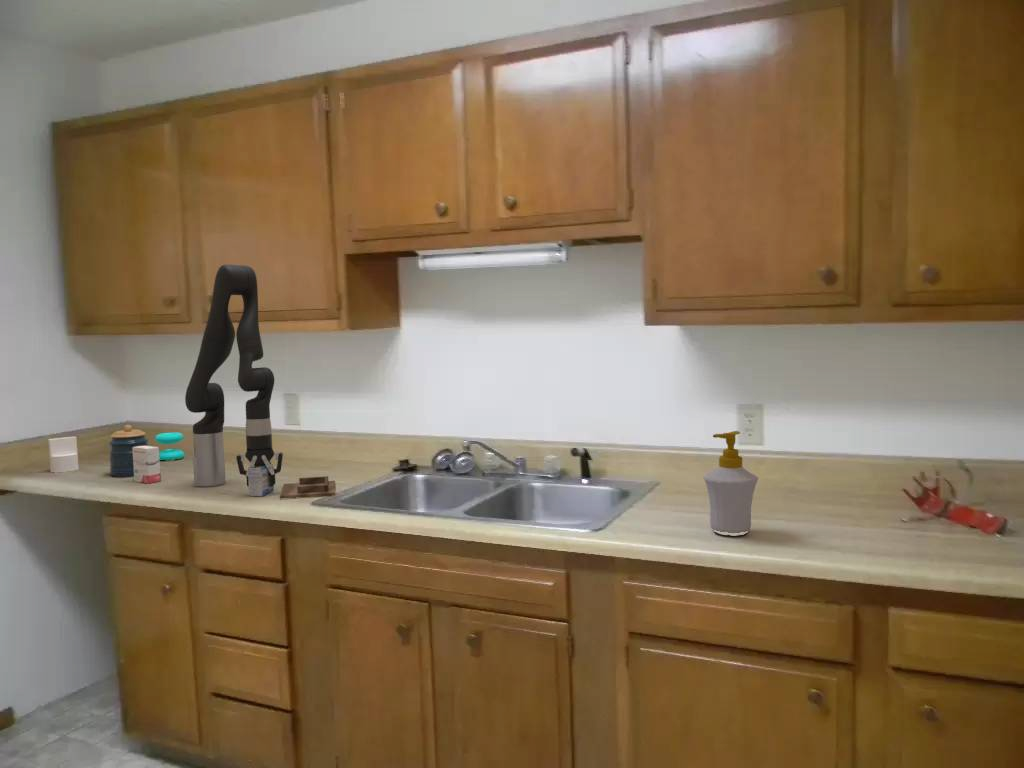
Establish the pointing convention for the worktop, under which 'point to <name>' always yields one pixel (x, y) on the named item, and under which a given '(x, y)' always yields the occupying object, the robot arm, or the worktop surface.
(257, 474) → the medicine box
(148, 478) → the ink box
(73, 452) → the base with upright slab
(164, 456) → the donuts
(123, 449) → the canister
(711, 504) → the soap bottle
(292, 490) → the holder board
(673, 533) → the worktop surface
